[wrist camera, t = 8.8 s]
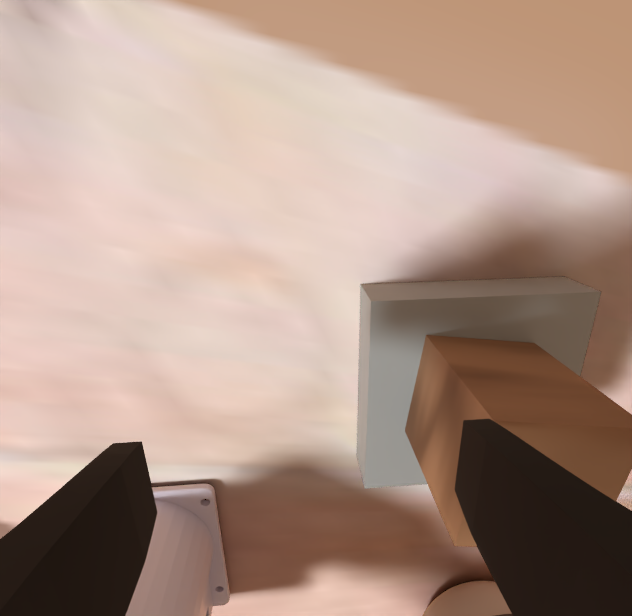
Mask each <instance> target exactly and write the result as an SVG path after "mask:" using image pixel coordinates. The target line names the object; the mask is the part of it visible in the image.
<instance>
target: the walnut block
mask: <svg viewBox="0 0 632 616" xmlns="http://www.w3.org/2000/svg"><path fill="white" fill-rule="evenodd" d="M475 419H491V420H493V421H494V422H496V423H498V424H499V425H501V426H502V427H504V428H505V429H507V430H508V431H510V432H511V433H513V434H514V435H516V436H517V437H519V438H520V439H522V440H523V441H525V442H526V443H528V444H529V445H531V446H532V447H534V448H535V449H536V450H538V451H539V452H541V453H542V454H544V455H545V456H547V457H548V458H550V459H551V460H553V461H554V462H556V463H557V464H559V465H560V466H562V467H563V468H565V469H566V470H568V471H569V472H571V473H572V474H574V475H575V476H577V477H578V478H580V479H581V480H583V481H584V482H586V483H587V484H589V485H591V486H592V487H594V488H595V489H597V490H598V491H600V492H602V493H603V494H605V495H606V496H608V497H609V498H611V499H613V500H614V501H616V500H617V498H618V496H619V494H620V492H621V490H622V488H623V486H624V484H625V482H626V480H627V477H628V475H629V473H630V471H631V469H632V415H631V414H630V413H629V412H627V411H626V410H624V409H623V408H622V407H620V406H619V405H618V404H616V403H615V402H614V401H612V400H611V399H610V398H608V397H607V396H606V395H604V394H603V393H602V392H600V391H599V390H597V389H596V388H595V387H593V386H592V385H591V384H589V383H588V382H587V381H585V380H584V379H583V378H581V377H580V376H579V375H577V374H576V373H574V372H573V371H572V370H570V369H569V368H568V367H566V366H565V365H564V364H562V363H561V362H560V361H558V360H557V359H556V358H554V357H553V356H552V355H550V354H549V353H547V352H546V351H545V350H543V349H542V348H541V347H539V346H538V345H537V344H535V343H529V342H516V341H502V340H489V339H475V338H461V337H448V336H434V335H426V337H425V342H424V346H423V351H422V355H421V360H420V364H419V369H418V373H417V378H416V382H415V387H414V391H413V395H412V400H411V404H410V409H409V413H408V418H407V422H406V427H405V433H406V435H407V437H408V439H409V442H410V444H411V446H412V449H413V451H414V453H415V456H416V458H417V460H418V463H419V465H420V467H421V470H422V472H423V474H424V477H425V479H426V481H427V484H428V486H429V488H430V491H431V493H432V495H433V498H434V500H435V502H436V504H437V507H438V509H439V511H440V514H441V516H442V518H443V521H444V523H445V525H446V528H447V530H448V532H449V535H450V537H451V539H452V542H453V544H454V546H469V547H477V545H476V543H475V541H474V539H473V537H472V535H471V532H470V530H469V527H468V525H467V522H466V520H465V517H464V515H463V512H462V509H461V506H460V504H459V501H458V498H457V495H456V492H455V482H456V474H457V466H458V459H459V451H460V443H461V435H462V428H463V420H475Z"/></svg>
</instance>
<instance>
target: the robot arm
mask: <svg viewBox="0 0 632 616" xmlns="http://www.w3.org/2000/svg"><path fill="white" fill-rule="evenodd" d="M455 492H456V495H457V498H458V501H459V504H460V506H461V509H462V512H463V515H464V517H465V520H466V522H467V525H468V527H469V530H470V532H471V535H472V537H473V539H474V541H475V543H476V545H477V547H478V549H479V551H480V553H481V555H482V557H483V559H484V561H485V563H486V565H487V567H488V569H489V571H490V573H491V575H492V576H493V578H494V580H495V582H496V584H497V586H498V588H499V590H500V592H501V594H502V596H503V598H504V600H505V602H506V604H507V605H508V607H509V609H510V611H511V613H512V615H513V616H632V511H631V510H629V509H627V508H626V507H624V506H623V505H621V504H619V503H618V502H616V501H614V500H613V499H611V498H609V497H608V496H606V495H605V494H603V493H602V492H600V491H598V490H597V489H595V488H594V487H592V486H591V485H589V484H587V483H586V482H584V481H583V480H581V479H580V478H578V477H577V476H575V475H574V474H572V473H571V472H569V471H568V470H566V469H565V468H563V467H562V466H560V465H559V464H557V463H556V462H554V461H553V460H551V459H550V458H548V457H547V456H545V455H544V454H542V453H541V452H539V451H538V450H536V449H535V448H534V447H532V446H531V445H529V444H528V443H526V442H525V441H523V440H522V439H520V438H519V437H517V436H516V435H514V434H513V433H511V432H510V431H508V430H507V429H505V428H504V427H502V426H501V425H499V424H498V423H496V422H494V421H493V420H491V419H475V420H463V428H462V435H461V443H460V451H459V459H458V466H457V474H456V482H455ZM204 499H208V500H204ZM229 598H230V590H229V584H228V577H227V570H226V564H225V557H224V550H223V544H222V537H221V530H220V524H219V517H218V510H217V504H216V497H215V490H214V488H213V487H212V486H211V485H209V484H191V485H177V486H164V487H152V486H151V481H150V477H149V472H148V468H147V463H146V459H145V454H144V450H143V445H142V442H128V443H113V444H112V445H111V446H110V447H108V448H107V449H106V450H105V451H103V452H102V453H101V454H100V455H99V456H97V457H96V458H95V459H94V460H93V461H92V462H90V463H89V464H88V465H87V466H86V467H85V468H84V469H82V470H81V471H80V472H79V473H78V474H77V475H75V476H74V477H73V478H72V479H71V480H70V481H69V482H67V483H66V484H65V485H64V486H63V487H62V488H61V489H59V490H58V491H57V492H56V493H55V494H54V495H52V496H51V497H50V498H49V499H48V500H47V501H45V502H44V503H43V504H42V505H41V506H40V507H38V508H37V509H36V510H35V511H34V512H33V513H31V514H30V515H29V516H28V517H27V518H26V519H24V520H23V521H22V522H21V523H20V524H18V525H17V526H16V527H15V528H14V529H12V530H11V531H10V532H9V533H7V534H6V535H5V536H4V537H2V538H1V539H0V616H211V613H212V607H213V606H218V605H225V604H226V603H228V602H229Z"/></svg>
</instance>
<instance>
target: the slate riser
mask: <svg viewBox="0 0 632 616" xmlns="http://www.w3.org/2000/svg"><path fill="white" fill-rule="evenodd" d="M600 295H601V291H598V290H596V289H593V288H591V287H588V286H586V285H584V284H581V283H579V282H576V281H574V280H572V279H569V278H567V277H564V276H562V277H535V278H509V279H483V280H457V281H431V282H404V283H378V284H361V288H360V330H359V373H358V415H357V459H358V463H359V467H360V471H361V475H362V479H363V483H364V488H365V489H366V488H380V487H394V486H408V485H422V484H427V481H426V479H425V477H424V474H423V472H422V470H421V467H420V465H419V463H418V460H417V458H416V456H415V453H414V451H413V449H412V446H411V444H410V442H409V439H408V437H407V435H406V433H405V427H406V422H407V418H408V413H409V409H410V404H411V400H412V395H413V391H414V387H415V382H416V378H417V373H418V369H419V364H420V360H421V355H422V351H423V346H424V342H425V337H426V335H434V336H448V337H461V338H475V339H489V340H502V341H516V342H529V343H535V344H537V345H538V346H539V347H541V348H542V349H543V350H545V351H546V352H547V353H549V354H550V355H552V356H553V357H554V358H556V359H557V360H558V361H560V362H561V363H562V364H564V365H565V366H566V367H568V368H569V369H570V370H572V371H573V372H574V373H576V374H577V375H579V376H580V375H581V371H582V367H583V363H584V359H585V355H586V351H587V347H588V343H589V339H590V335H591V331H592V327H593V323H594V319H595V315H596V311H597V307H598V303H599V299H600Z"/></svg>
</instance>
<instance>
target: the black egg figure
mask: <svg viewBox="0 0 632 616" xmlns="http://www.w3.org/2000/svg"><path fill="white" fill-rule="evenodd" d="M423 616H513V615H512V613H511V611H510V609H509V607H508V605H507V604H506V602H505V600H504V598H503V596H502V594H501V592H500V590H499V588H498V586H497V584H496V582H493V581H472V582H467V583H463V584H459V585H457V586H454V587H452V588H450V589H448V590H446V591H445V592H443V593H442V594H440V595H439V596H438V597H437V598H436V599H435V600H434V601H433V602H432V603H431V604H430V605H429V606H428V608H427V609H426V611H425V612H424V614H423Z"/></svg>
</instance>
